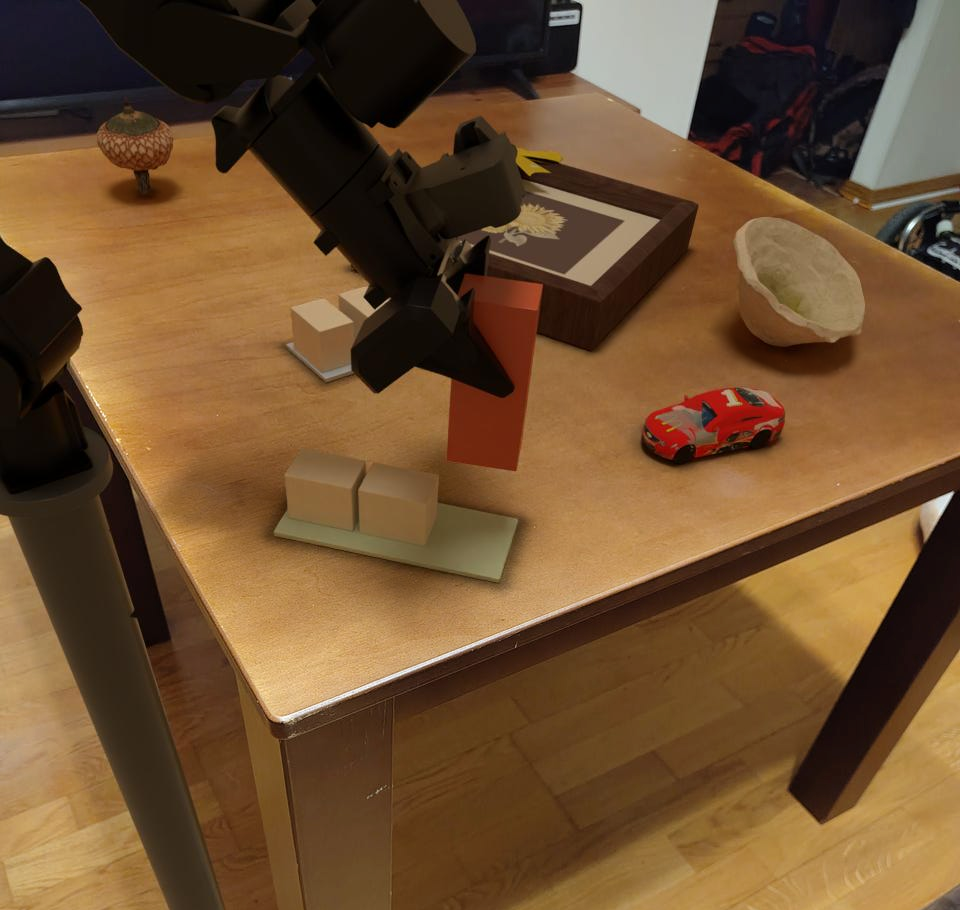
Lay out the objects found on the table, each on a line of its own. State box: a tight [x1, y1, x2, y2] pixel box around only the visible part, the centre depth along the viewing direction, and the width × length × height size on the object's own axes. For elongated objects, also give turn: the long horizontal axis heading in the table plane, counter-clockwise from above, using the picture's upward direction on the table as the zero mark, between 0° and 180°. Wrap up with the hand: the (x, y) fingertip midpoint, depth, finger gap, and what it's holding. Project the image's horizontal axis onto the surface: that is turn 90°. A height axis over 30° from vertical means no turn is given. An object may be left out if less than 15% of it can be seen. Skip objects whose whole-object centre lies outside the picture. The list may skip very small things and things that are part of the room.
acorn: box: [96, 97, 174, 195], centre depth 100 cm, size 8×8×10 cm
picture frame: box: [350, 146, 699, 351], centre depth 97 cm, size 28×7×30 cm
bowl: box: [733, 216, 866, 348], centre depth 87 cm, size 15×14×10 cm
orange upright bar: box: [445, 273, 543, 472], centre depth 59 cm, size 5×4×12 cm
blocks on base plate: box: [285, 285, 390, 383], centre depth 83 cm, size 16×7×4 cm, turn 128°
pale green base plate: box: [273, 447, 519, 584], centre depth 65 cm, size 17×7×4 cm, turn 77°
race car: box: [640, 387, 786, 465], centre depth 76 cm, size 13×5×4 cm, turn 111°
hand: (512, 378), depth 59 cm, fingers closed on orange upright bar, 3 cm apart
